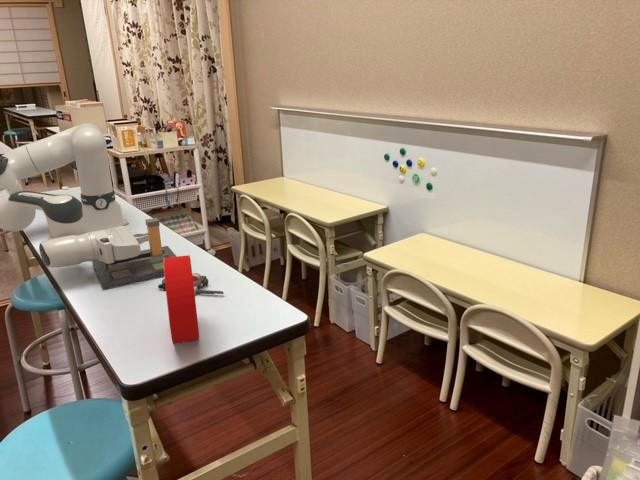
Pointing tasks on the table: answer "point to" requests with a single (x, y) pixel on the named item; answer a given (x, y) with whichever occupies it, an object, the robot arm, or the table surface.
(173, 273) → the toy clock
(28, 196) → the robot arm
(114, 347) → the table surface
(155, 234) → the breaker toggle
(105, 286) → the grey metal board
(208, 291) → the walkie-talkie
